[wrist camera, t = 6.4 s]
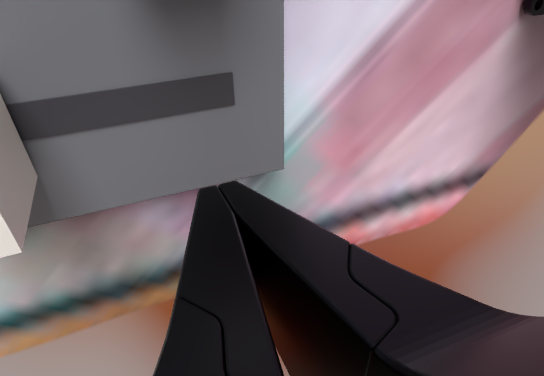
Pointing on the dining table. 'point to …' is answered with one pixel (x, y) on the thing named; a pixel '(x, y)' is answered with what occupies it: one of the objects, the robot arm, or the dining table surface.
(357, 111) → the dining table surface
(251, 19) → the switch panel
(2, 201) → the tab
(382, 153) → the dining table surface
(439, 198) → the dining table surface
